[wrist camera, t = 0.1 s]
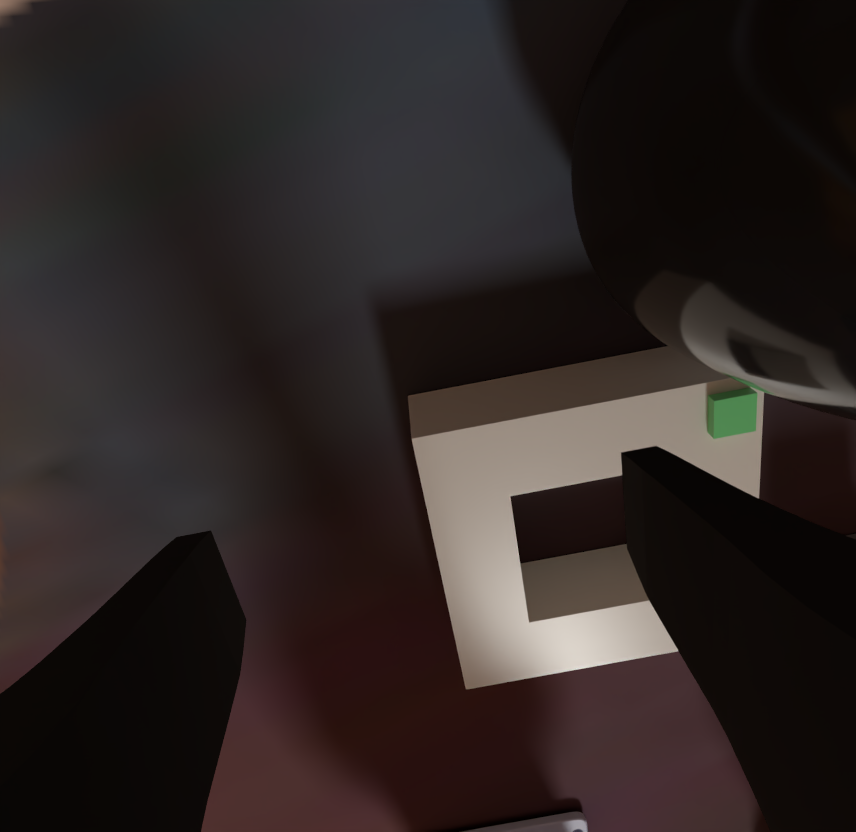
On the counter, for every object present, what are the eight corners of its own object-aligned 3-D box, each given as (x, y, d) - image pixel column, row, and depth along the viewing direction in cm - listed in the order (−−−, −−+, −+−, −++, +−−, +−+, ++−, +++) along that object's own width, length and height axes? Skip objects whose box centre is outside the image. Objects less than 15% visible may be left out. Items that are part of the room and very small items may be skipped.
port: (713, 580, 26) (758, 646, 22) (457, 627, 26) (467, 698, 23) (716, 336, 21) (772, 377, 18) (407, 395, 21) (412, 445, 18)
